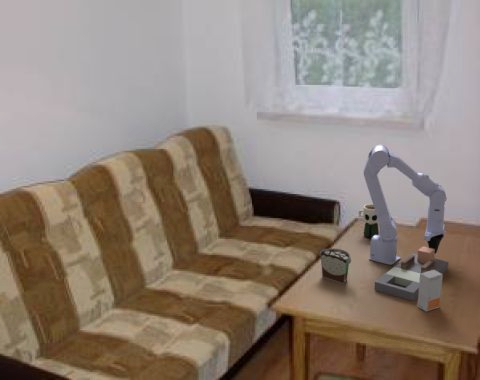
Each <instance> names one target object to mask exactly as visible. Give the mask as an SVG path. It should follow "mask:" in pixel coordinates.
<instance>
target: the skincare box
mask: <svg viewBox="0 0 480 380" xmlns="http://www.w3.org/2000/svg"><path fill="white" fill-rule="evenodd" d="M443 276H444V273H443V274H441V273H439V272H437V271H435V270H431V271H427V272H424V273H421V274H420V281H419V294H418V297H417V308H419V309H421V310H422V311H425V312H429V311H432V310H436V309H440V308H441V301H442V300H441V299H442V298H441V296H442V290H443V289H442V288H443Z"/></svg>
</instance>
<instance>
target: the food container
mask: <svg viewBox="0 0 480 380" xmlns="http://www.w3.org/2000/svg"><path fill="white" fill-rule="evenodd" d="M318 256H320V264H321V277H322V278H325V279H327V280H330V281H334V282H336V283H338V284H343V285H345V284H347V282H348V276H349V275H348V274H349V265H350V264H351V263H352V259H351V254H350V253H349V252H348V251H346V250H344V249H341V248H325V249H321V250H320V252H319V255H318Z"/></svg>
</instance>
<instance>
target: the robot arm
mask: <svg viewBox="0 0 480 380" xmlns="http://www.w3.org/2000/svg"><path fill="white" fill-rule="evenodd" d="M367 155H368V156H367V160H366V163H365V165H364V168H363V177H364V180H365V183H366V186H367V189H368V193H369V196H370V199H371V201H372V204H373V205H374V208H375V211H376V214H377V217H378V228H379V235H374V236H373V237H372V238H371V239H370V243H369V244H370V245H369V247H370V248H369V249H370V250H369V257H368V260H370V261H374V262H377V263H380V264H385V265H388V266H389V265H390V266H392V265H394V264H395V263H397V262H398V261H399V260H400V259H401V258H402V257H401V256H398V255H397V252H398V251H397V250H398V249H397V248H398V236H397V234H398V232H397V222H396V220H395V219H393V218H392V215H391V213H390V210H389V208H388V204H387V201H386V197H385V194H384V191H383V189H382V185H381V183H380V179H379V173H380V172H381V170H382V169H383V168H385V167H386V168H388V169H389V168H396V170H398V171H399V172H400V173H402V174H403V175H405V176H406V177H407V178H408V179H410V180H411V184H412V186H413V187H414V188H415V189H417V190H418V191H419V192H420V193H422V194H423V195H424V196H426V197H428V199H429V200H428V207H427V219H426V228H425V234H423V241H426V242H427V245H428V248H432V249H435V254H434V255H436V253H438V250H439V246H440V243H441V241H442V240H443V238H444V235H446V233H447V231H446V230H445V229H446V224H444V222H445V221H444V220H445V204H446V201H447V199H448V197H447V195H446V191H445V189H444V187H442V184H441V185H440V184H439V183H438V182H435V181H434V180H432V179H431V178H430V175H429V174H428V173H426V174H425V173H423V172H417V171H416V170H414V168H412V166H411V165H410V164H408V163H407V162H406V161H405V160H404V159H402V158H401V157H400V156H399V155H397V153H395V152H394V151H392V149H389V148H388V147H387V146H386V145H384V144H377V145H375V146H373V147H372V149H371V150H370V152H369V153H368V154H367Z"/></svg>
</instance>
